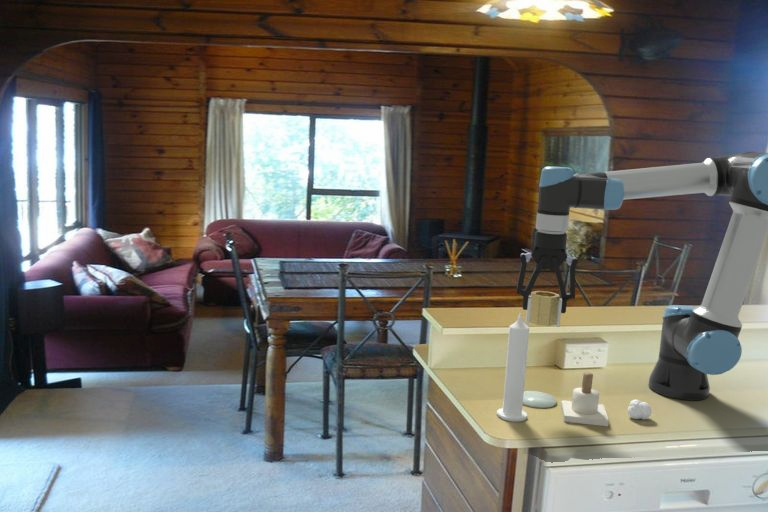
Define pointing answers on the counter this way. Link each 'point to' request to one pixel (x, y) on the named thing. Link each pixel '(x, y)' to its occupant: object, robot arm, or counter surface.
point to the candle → (515, 373)
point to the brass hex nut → (544, 308)
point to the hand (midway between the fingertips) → (542, 323)
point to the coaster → (538, 399)
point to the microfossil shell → (639, 410)
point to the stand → (585, 405)
